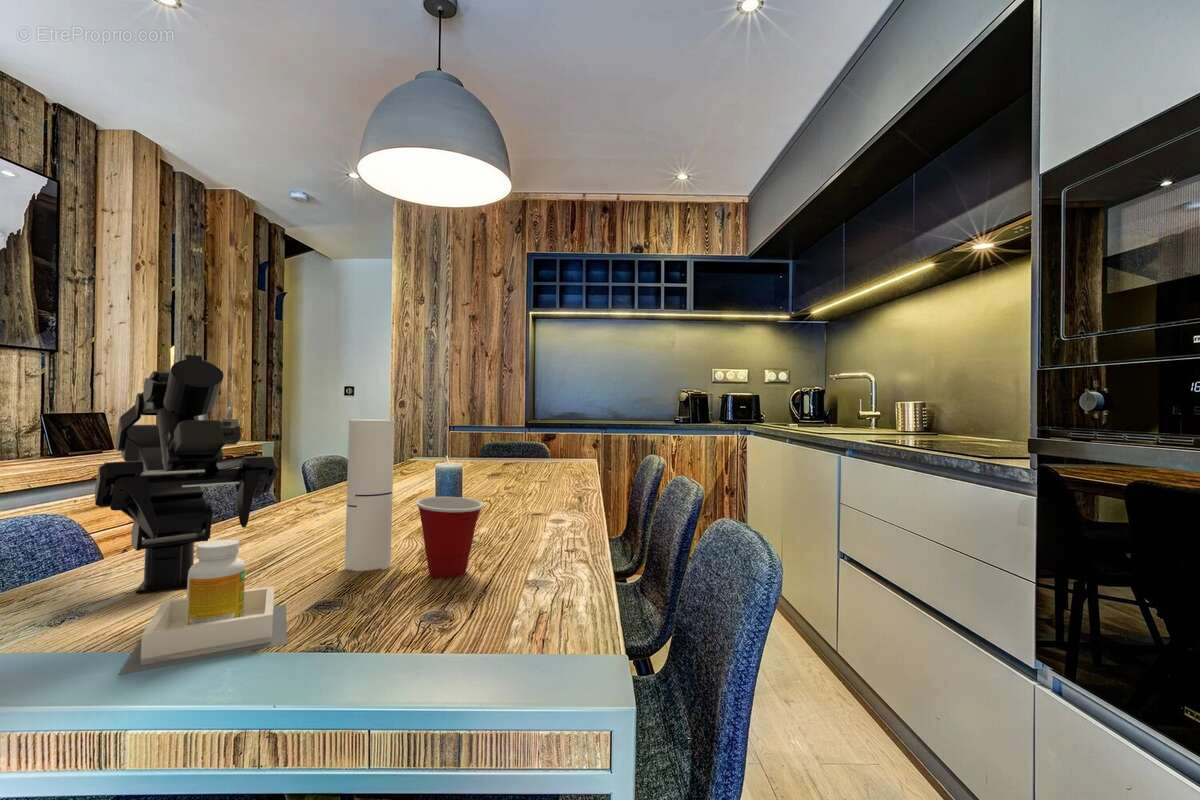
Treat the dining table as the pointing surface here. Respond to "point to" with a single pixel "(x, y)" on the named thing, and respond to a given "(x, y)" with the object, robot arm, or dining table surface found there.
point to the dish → (207, 629)
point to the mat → (277, 639)
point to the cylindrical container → (369, 495)
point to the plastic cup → (448, 533)
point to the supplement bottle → (216, 583)
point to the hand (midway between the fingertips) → (202, 531)
